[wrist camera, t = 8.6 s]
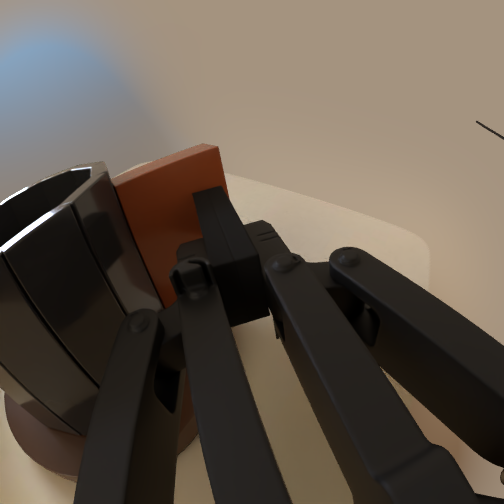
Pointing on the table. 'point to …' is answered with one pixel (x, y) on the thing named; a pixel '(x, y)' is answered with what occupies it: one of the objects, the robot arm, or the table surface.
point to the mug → (89, 273)
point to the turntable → (75, 437)
